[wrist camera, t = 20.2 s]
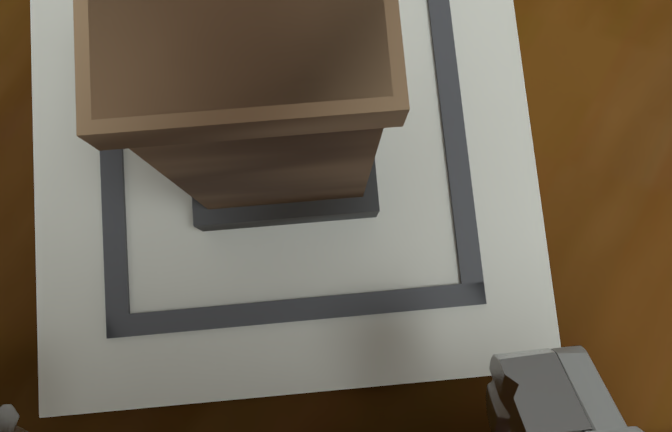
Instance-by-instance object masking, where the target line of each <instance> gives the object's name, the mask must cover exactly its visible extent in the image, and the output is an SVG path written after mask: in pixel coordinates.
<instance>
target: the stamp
mask: <svg viewBox="0 0 672 432" xmlns="http://www.w3.org/2000/svg"><path fill="white" fill-rule="evenodd" d="M73 21H74V59H75V97H76V135H77V136H78V137H79V138H81V139H82V140H84V141H85V142H87V143H88V144H90V145H91V146H93V147H94V148H96V149H97V150H99V151H103V150H115V149H128V148H129V149H130V150H131V151H133V152H134V153H135V154H137V155H138V156H139V157H140V158H142V159H143V160H144V161H146V162H147V163H148V164H150V165H151V166H152V167H153V168H155V169H156V170H157V171H159V172H160V173H161V174H163V175H164V176H165V177H166V178H168V179H169V180H170V181H172V182H173V183H174V184H176V185H177V186H178V187H179V188H181V189H182V190H183V191H185V192H186V193H187V194H189V195H190V196H191V197H192V210H193V226H194V227H196V228H198V229H199V230H201V231H203V232H204V231H216V230H228V229H240V228H252V227H264V226H276V225H288V224H301V223H313V222H325V221H337V220H349V219H361V218H373V217H377V215H378V213H379V211H380V208H379V197H378V187H377V176H376V166H375V155H376V152H377V149H378V145H379V142H380V139H381V135H382V132H383V129H384V128H391V127H403V125H404V123H405V120H406V118H407V115H408V113H409V110H410V106H409V96H408V87H407V77H406V68H405V58H404V49H403V39H402V30H401V20H400V11H399V1H398V0H73Z"/></svg>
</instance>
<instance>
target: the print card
mask: <svg viewBox="0 0 672 432" xmlns="http://www.w3.org/2000/svg"><path fill="white" fill-rule="evenodd" d="M398 1H399V11H400V20H401V30H402V39H403V49H404V58H405V68H406V77H407V87H408V96H409V106H410V110H409V113H408V115H407V118H406V120H405V123H404V125H403V127H391V128H384V129H383V132H382V135H381V139H380V142H379V145H378V149H377V152H376V155H375V166H376V176H377V187H378V197H379V208H380V211H379V213H378V215H377V217H373V218H361V219H349V220H337V221H325V222H313V223H301V224H288V225H276V226H264V227H252V228H240V229H228V230H216V231H204V232H203V231H201V230H199V229H198V228H196V227H194V226H193V210H192V197H191V196H190V195H189V194H187V193H186V192H185V191H183V190H182V189H181V188H179V187H178V186H177V185H176V184H174V183H173V182H172V181H170V180H169V179H168V178H166V177H165V176H164V175H163V174H161V173H160V172H159V171H157V170H156V169H155V168H153V167H152V166H151V165H150V164H148V163H147V162H146V161H144V160H143V159H142V158H140V157H139V156H138V155H137V154H135V153H134V152H133V151H131V150H130V149H129V148H128V149H115V150H103V151H99V150H97V149H96V148H94V147H93V146H91V145H90V144H88V143H87V142H85V141H84V140H82V139H81V138H79V137H78V136H77V135H76V97H75V59H74V21H73V0H30V17H31V64H32V110H33V157H34V204H35V250H36V297H37V343H38V390H39V418H45V417H55V416H66V415H77V414H87V413H98V412H109V411H119V410H130V409H141V408H151V407H162V406H173V405H183V404H194V403H205V402H215V401H226V400H237V399H247V398H258V397H269V396H279V395H290V394H301V393H311V392H322V391H333V390H344V389H354V388H365V387H376V386H386V385H397V384H408V383H418V382H429V381H440V380H450V379H461V378H472V377H482V376H492V375H491V373H490V370H489V367H490V360H491V358H492V356H493V354H501V353H510V352H518V351H527V350H536V349H545V348H549V349H552V348H561V344H560V336H559V329H558V322H557V315H556V307H555V300H554V293H553V286H552V278H551V271H550V264H549V257H548V250H547V242H546V235H545V228H544V221H543V213H542V206H541V199H540V192H539V184H538V177H537V170H536V163H535V156H534V148H533V141H532V134H531V127H530V119H529V112H528V105H527V98H526V90H525V83H524V76H523V69H522V62H521V54H520V47H519V40H518V33H517V25H516V18H515V11H514V4H513V0H398Z"/></svg>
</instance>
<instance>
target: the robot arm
mask: <svg viewBox="0 0 672 432" xmlns="http://www.w3.org/2000/svg"><path fill="white" fill-rule="evenodd" d="M489 370H490V373H491V375H492V378H493V380H492V381H491V382H490V383H489V384H488V385H487V389H486V409H487V416H488V421H489V425H490V429H491V432H644V431H643V430H641V429H640V428H638V427H637V426H631V427H627V425H626V423H625V421H624V419H623V418H622V416H621V414H620V412H619V410H618V408H617V406H616V405H615V403H614V401H613V399H612V397H611V395H610V393H609V392H608V390H607V388H606V386H605V384H604V382H603V381H602V379H601V377H600V375H599V373H598V371H597V369H596V368H595V366H594V364H593V362H592V360H591V358H590V356H589V355H588V353H587V351H586V350H585V349H584V348H583V347H582V346H570V347H561V348H552V349H549V348H545V349H536V350H527V351H518V352H510V353H501V354H493V356H492V358H491V360H490V367H489ZM18 419H19V414H18V413H17V411H16V410H15V408H14V407H13V406H12V404H4V405H0V432H28V431H26V430H24V429H22V428H20V427H19V426H17V425H16V424H17V421H18Z"/></svg>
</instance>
